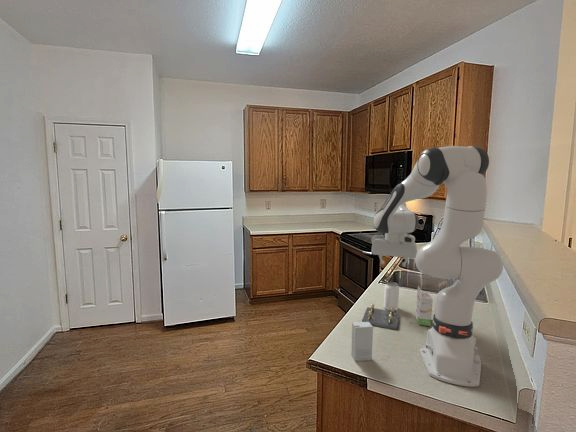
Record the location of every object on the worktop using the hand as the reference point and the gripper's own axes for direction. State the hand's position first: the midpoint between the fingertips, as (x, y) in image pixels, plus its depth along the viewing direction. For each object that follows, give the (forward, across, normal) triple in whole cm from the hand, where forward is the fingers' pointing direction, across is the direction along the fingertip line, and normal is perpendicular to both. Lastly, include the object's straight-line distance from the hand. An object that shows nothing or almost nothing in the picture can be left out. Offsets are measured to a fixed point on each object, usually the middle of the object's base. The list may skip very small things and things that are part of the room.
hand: (393, 265), depth 150 cm
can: (+21, 0, 0) cm, 21 cm away
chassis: (+21, -3, -15) cm, 26 cm away
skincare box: (+20, -6, -49) cm, 54 cm away
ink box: (+21, +14, -9) cm, 27 cm away
